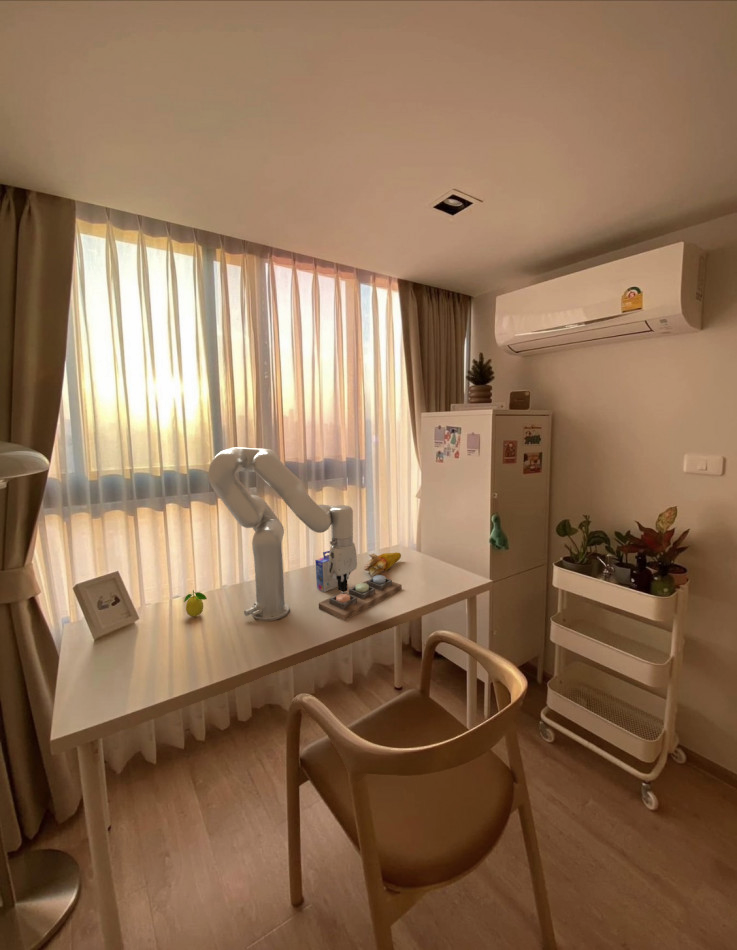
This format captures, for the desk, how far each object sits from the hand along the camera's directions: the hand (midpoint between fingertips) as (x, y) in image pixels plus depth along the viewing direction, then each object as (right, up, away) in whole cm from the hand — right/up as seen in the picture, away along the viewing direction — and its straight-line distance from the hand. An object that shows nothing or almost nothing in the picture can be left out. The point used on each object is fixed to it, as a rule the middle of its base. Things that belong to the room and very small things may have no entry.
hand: (342, 590), depth 145 cm
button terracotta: (0, -5, +1) cm, 5 cm away
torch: (+17, -1, +36) cm, 40 cm away
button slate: (+13, -1, +15) cm, 21 cm away
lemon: (-50, -8, -4) cm, 51 cm away
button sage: (+7, -3, +8) cm, 11 cm away
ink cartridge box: (-6, -4, +19) cm, 20 cm away
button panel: (+7, -6, +8) cm, 12 cm away
